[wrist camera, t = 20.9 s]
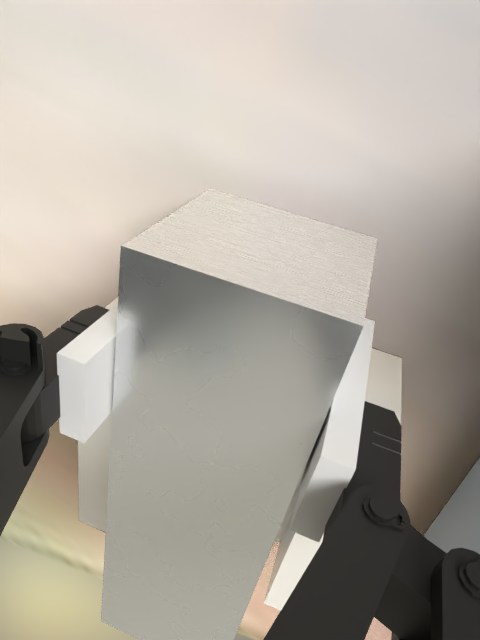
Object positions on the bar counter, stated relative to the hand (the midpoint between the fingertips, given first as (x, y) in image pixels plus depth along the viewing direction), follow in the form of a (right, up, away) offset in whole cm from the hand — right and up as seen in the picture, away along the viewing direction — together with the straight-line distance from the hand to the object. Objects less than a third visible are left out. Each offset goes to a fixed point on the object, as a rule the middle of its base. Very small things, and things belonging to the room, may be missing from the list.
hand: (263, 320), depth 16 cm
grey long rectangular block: (-1, -4, +3) cm, 5 cm away
